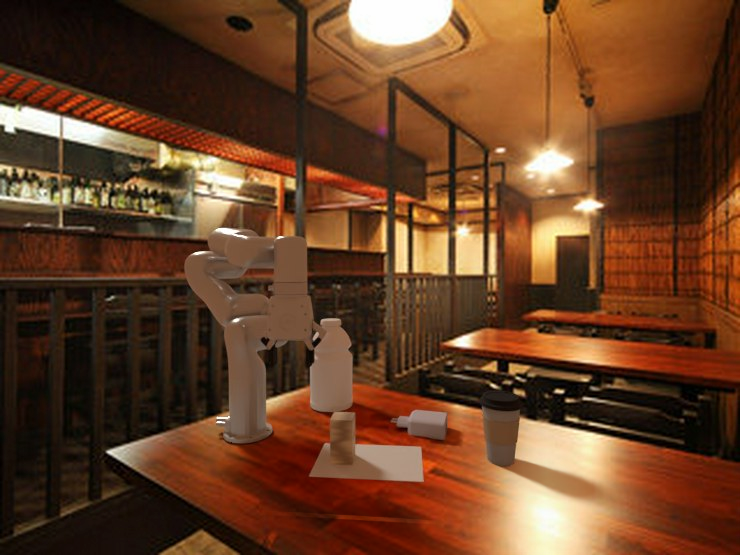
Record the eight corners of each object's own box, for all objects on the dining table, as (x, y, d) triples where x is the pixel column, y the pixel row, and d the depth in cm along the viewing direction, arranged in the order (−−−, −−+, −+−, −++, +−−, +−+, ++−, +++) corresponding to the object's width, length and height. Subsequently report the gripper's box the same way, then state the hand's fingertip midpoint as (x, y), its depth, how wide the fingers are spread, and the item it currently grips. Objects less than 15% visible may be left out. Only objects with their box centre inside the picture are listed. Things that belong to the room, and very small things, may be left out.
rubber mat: (308, 479, 83) (308, 476, 83) (324, 445, 99) (324, 443, 99) (423, 484, 81) (423, 481, 81) (421, 449, 97) (421, 446, 97)
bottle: (320, 396, 137) (319, 316, 136) (358, 400, 133) (357, 317, 133) (302, 411, 123) (301, 321, 123) (344, 415, 120) (344, 322, 119)
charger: (395, 422, 114) (447, 428, 110) (387, 435, 105) (444, 442, 101) (394, 406, 114) (447, 411, 110) (387, 418, 105) (444, 423, 101)
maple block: (329, 464, 88) (329, 419, 88) (333, 453, 93) (333, 411, 93) (352, 465, 88) (352, 420, 87) (355, 454, 93) (355, 412, 92)
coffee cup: (523, 455, 93) (523, 392, 93) (520, 474, 85) (521, 404, 84) (482, 447, 97) (482, 387, 97) (475, 465, 89) (475, 398, 88)
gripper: (247, 291, 88) (248, 369, 88) (324, 291, 86) (325, 370, 87) (260, 289, 95) (261, 361, 96) (331, 289, 94) (331, 362, 94)
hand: (291, 365), depth 91 cm, fingers open, 7 cm apart
